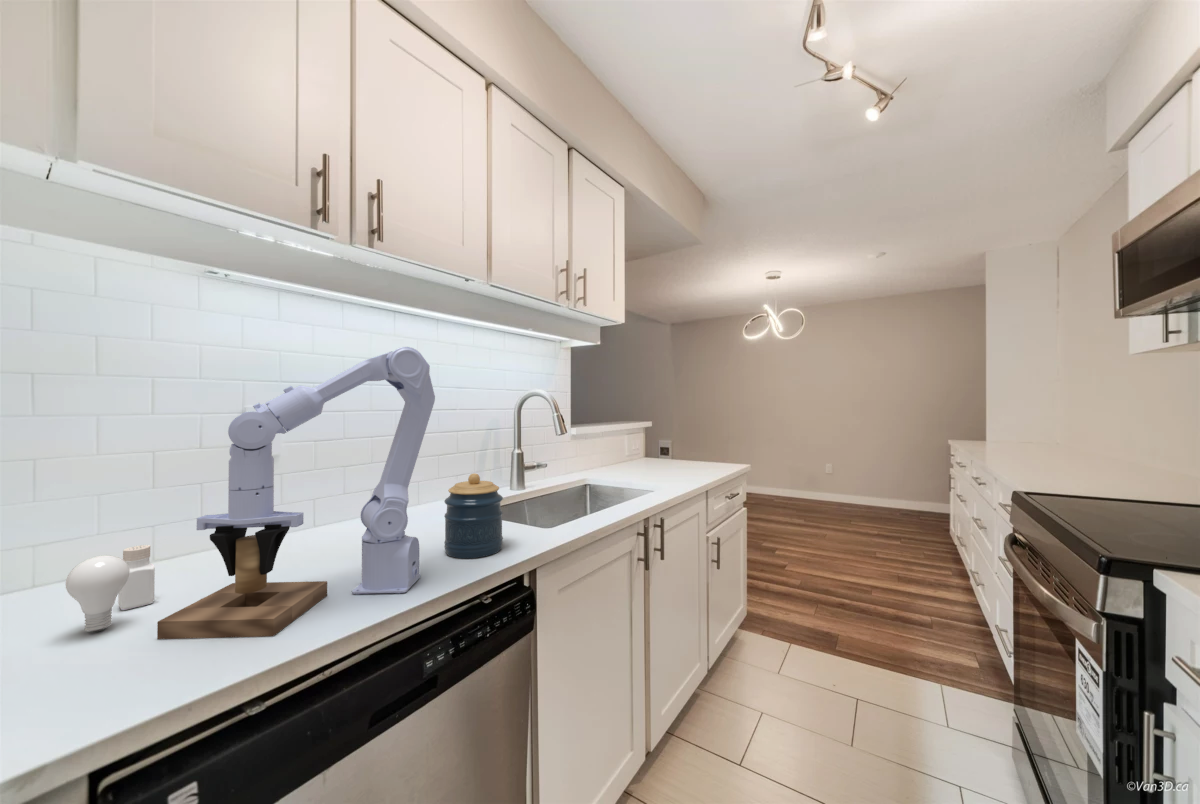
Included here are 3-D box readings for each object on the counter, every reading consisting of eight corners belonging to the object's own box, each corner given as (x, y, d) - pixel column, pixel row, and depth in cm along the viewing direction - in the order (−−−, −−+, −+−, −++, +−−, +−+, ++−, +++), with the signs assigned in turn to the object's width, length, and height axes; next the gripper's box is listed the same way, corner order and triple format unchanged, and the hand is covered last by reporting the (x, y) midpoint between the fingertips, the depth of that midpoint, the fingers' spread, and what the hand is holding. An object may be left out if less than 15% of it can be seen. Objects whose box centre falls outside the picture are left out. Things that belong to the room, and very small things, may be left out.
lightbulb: (61, 633, 66) (62, 558, 66) (123, 616, 71) (124, 547, 71) (69, 646, 62) (69, 566, 62) (134, 627, 68) (134, 554, 68)
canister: (466, 539, 112) (466, 468, 112) (513, 544, 108) (513, 470, 108) (431, 556, 100) (432, 476, 100) (482, 562, 96) (482, 479, 96)
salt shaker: (151, 597, 78) (151, 542, 79) (154, 604, 76) (155, 547, 76) (117, 605, 75) (118, 548, 75) (120, 612, 73) (120, 553, 73)
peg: (271, 583, 74) (272, 534, 74) (257, 592, 70) (258, 540, 70) (244, 584, 73) (245, 535, 74) (229, 594, 70) (229, 542, 70)
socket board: (327, 595, 79) (327, 581, 79) (273, 636, 65) (273, 618, 65) (232, 597, 78) (232, 583, 78) (157, 639, 64) (157, 621, 64)
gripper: (313, 482, 77) (312, 562, 77) (219, 484, 75) (218, 566, 75) (290, 489, 70) (289, 578, 70) (186, 492, 68) (185, 582, 68)
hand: (251, 573), depth 72 cm, fingers closed on peg, 4 cm apart
